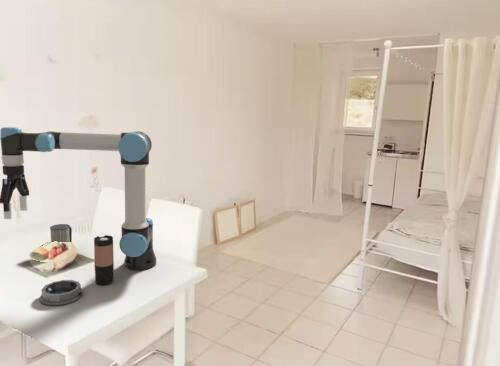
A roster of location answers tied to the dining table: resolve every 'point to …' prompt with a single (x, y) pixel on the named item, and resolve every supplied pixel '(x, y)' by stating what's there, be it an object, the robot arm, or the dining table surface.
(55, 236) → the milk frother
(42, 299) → the collar
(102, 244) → the travel mug
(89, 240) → the dining table surface
